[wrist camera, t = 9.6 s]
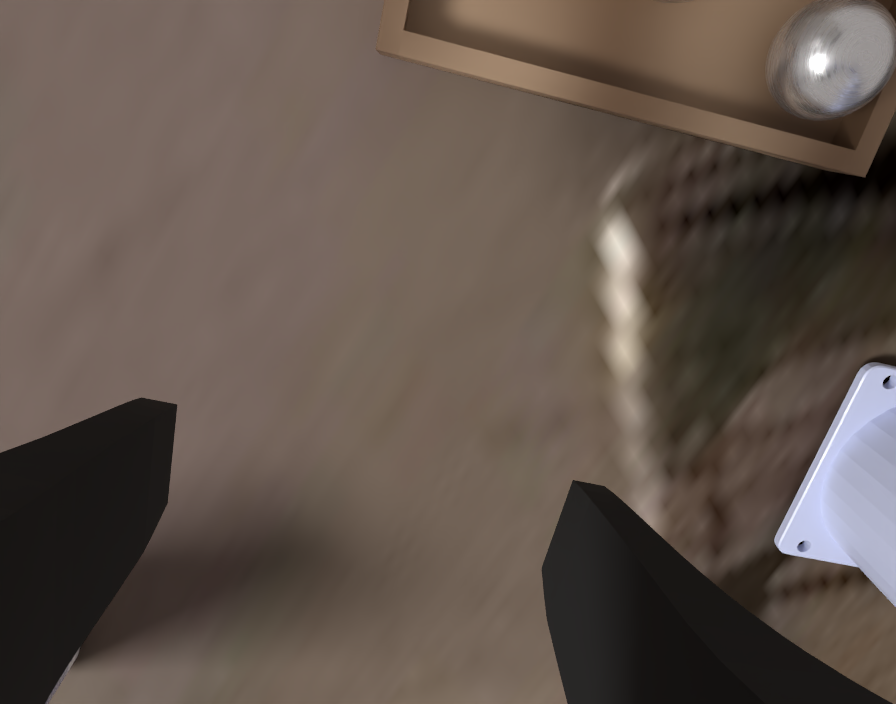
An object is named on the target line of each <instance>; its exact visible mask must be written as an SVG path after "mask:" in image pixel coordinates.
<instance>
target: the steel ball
mask: <svg viewBox="0 0 896 704" xmlns="http://www.w3.org/2000/svg"><path fill="white" fill-rule="evenodd" d="M895 67H896V22H895V20H894V18H893V16H892V15H891V14H890V12H889V11H888V10H887V9H886V8H885V7H884V6H883V5H882V4H881V3H879V2H877V1H876V0H815V1H813V2H811V3H809V4H807V5H806V6H804V7H803V8H801V9H800V10H798V11H797V12H796V13H794V14H793V15H792V16H791V17H790V18H789V19H788V20H787V21H786V22H785V23H784V25H783V26H782V27H781V28H780V30H779V31H778V32H777V34H776V36H775V38H774V39H773V41H772V44H771V46H770V48H769V52H768V55H767V60H766V69H765V71H766V81H767V85H768V89H769V91H770V93H771V95H772V97H773V98H774V100H775V101H776V102H777V103H778V105H779V106H780V107H781V108H782V109H784V110H785V111H786V112H788V113H790V114H792V115H794V116H796V117H799V118H802V119H807V120H813V121H823V120H832V119H836V118H840V117H843V116H846V115H848V114H851V113H853V112H855V111H857V110H858V109H860V108H862V107H863V106H865V105H866V104H868V103H869V102H870V101H871V100H872V99H873V98H875V97H876V96H877V95H878V93H879V92H880V91H881V90H882V89H883V88H884V87H885V85H886V84H887V82H888V81H889V79H890V78H891V76H892V74H893V72H894V69H895Z"/></svg>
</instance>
